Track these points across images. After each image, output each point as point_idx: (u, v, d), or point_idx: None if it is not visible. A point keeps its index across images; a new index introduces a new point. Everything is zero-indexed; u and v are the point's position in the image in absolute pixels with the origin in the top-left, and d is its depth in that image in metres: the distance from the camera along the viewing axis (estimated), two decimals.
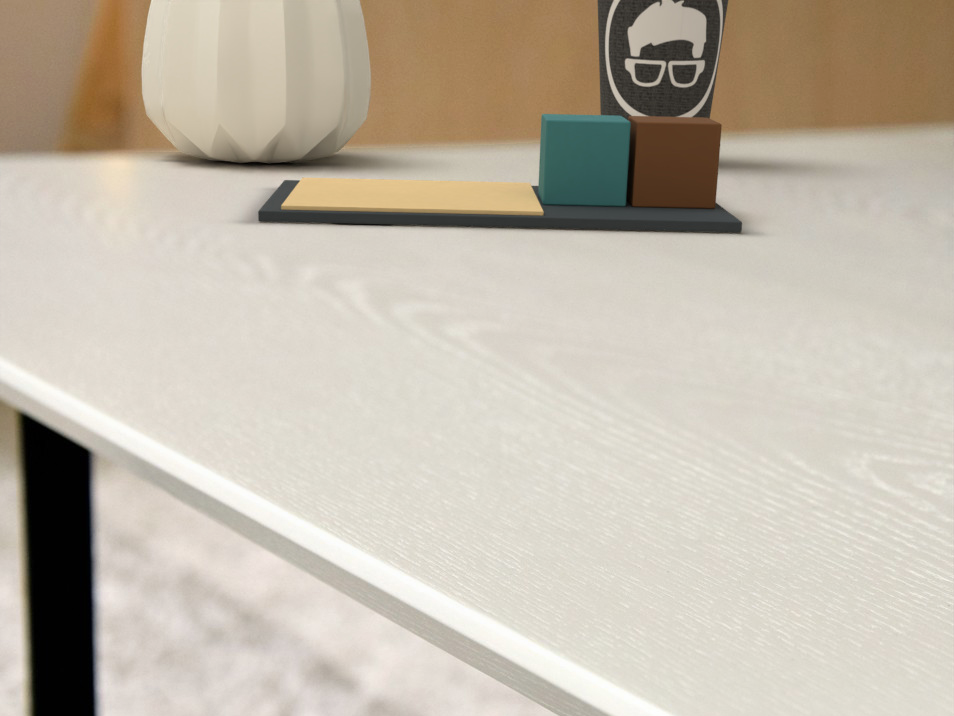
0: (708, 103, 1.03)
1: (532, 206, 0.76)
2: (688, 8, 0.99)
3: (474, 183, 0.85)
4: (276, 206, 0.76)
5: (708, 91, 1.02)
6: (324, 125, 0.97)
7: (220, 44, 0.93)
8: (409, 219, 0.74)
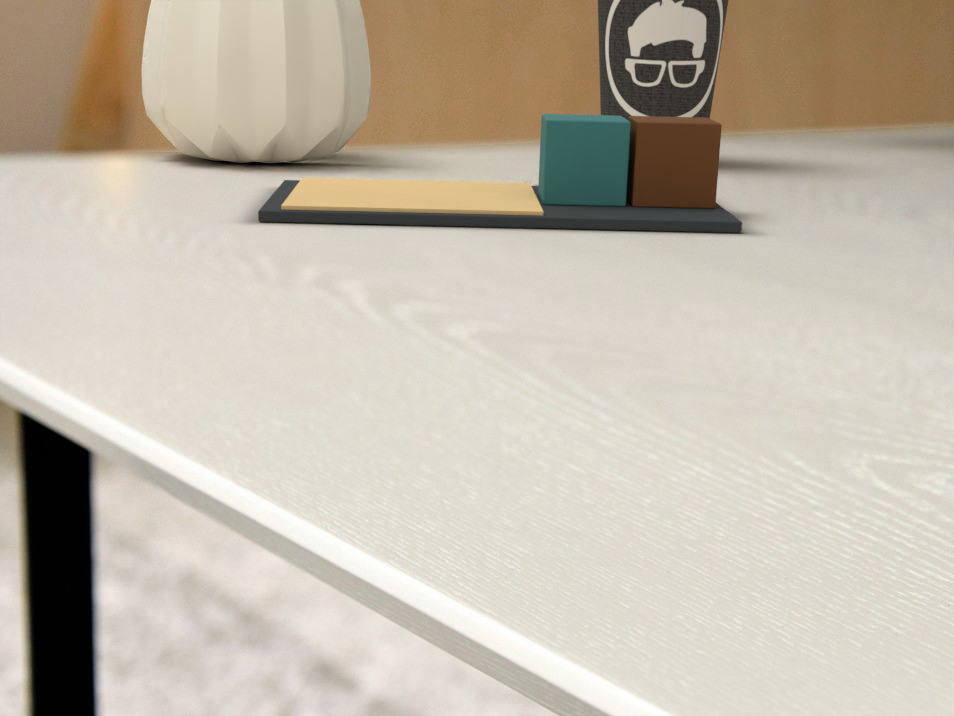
0: (708, 103, 1.03)
1: (532, 206, 0.76)
2: (688, 8, 0.99)
3: (474, 183, 0.85)
4: (276, 206, 0.76)
5: (708, 91, 1.02)
6: (324, 125, 0.97)
7: (220, 44, 0.93)
8: (409, 219, 0.74)
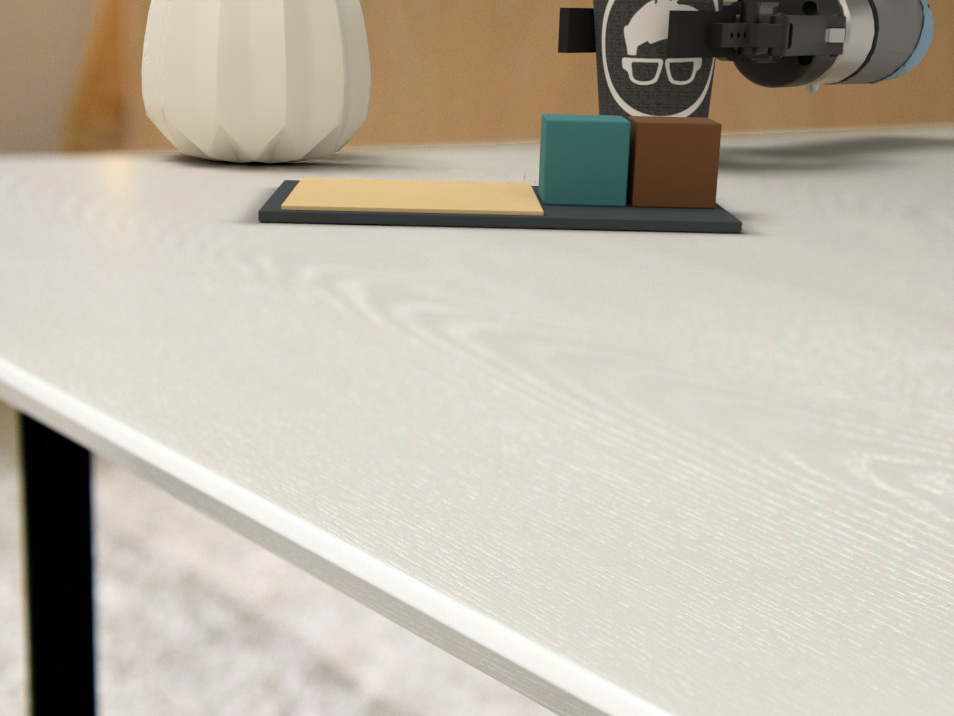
0: (706, 100, 1.03)
1: (532, 206, 0.76)
2: (683, 5, 0.99)
3: (474, 183, 0.85)
4: (276, 206, 0.76)
5: (706, 88, 1.02)
6: (324, 125, 0.96)
7: (220, 44, 0.93)
8: (409, 219, 0.74)
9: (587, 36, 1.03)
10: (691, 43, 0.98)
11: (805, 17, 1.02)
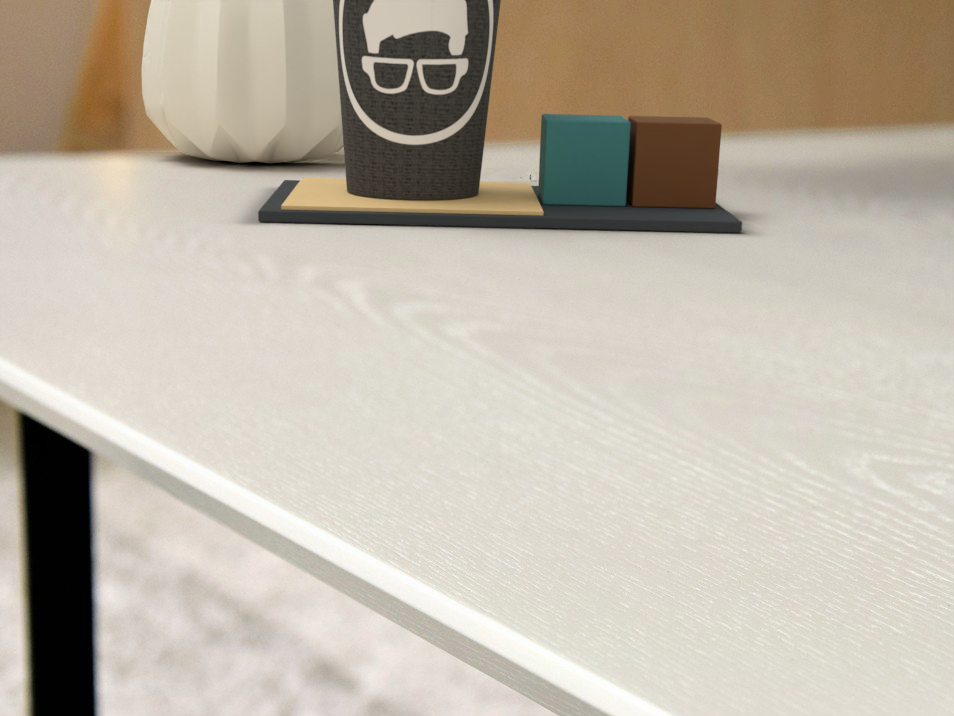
0: (478, 115, 0.77)
1: (532, 206, 0.76)
2: None
3: None
4: (276, 206, 0.76)
5: (477, 99, 0.77)
6: (324, 125, 0.97)
7: (220, 44, 0.93)
8: (409, 219, 0.74)
9: None
10: None
11: None
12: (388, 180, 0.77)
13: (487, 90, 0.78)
